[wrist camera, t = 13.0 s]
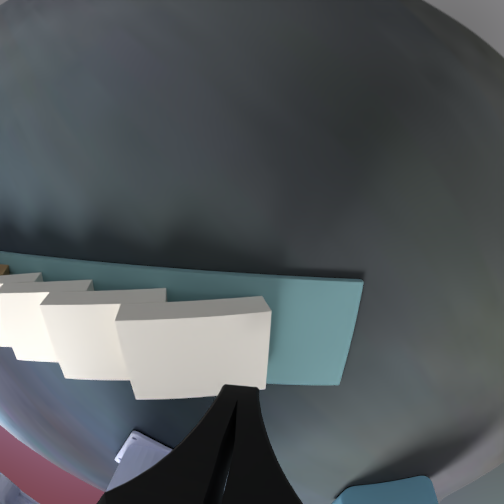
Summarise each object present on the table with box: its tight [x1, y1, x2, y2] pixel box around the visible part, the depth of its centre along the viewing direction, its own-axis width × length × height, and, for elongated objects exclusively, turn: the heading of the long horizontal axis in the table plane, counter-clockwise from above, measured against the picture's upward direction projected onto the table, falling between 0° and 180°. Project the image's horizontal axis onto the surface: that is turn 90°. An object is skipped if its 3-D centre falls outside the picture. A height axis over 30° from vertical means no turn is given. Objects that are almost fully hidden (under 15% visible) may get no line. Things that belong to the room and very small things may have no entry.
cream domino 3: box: [40, 288, 167, 380], centre depth 14 cm, size 2×5×7 cm
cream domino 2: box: [0, 279, 94, 362], centre depth 14 cm, size 2×5×7 cm
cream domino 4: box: [115, 296, 272, 400], centre depth 13 cm, size 2×5×7 cm
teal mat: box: [0, 251, 364, 385], centre depth 16 cm, size 28×7×1 cm, turn 88°
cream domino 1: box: [0, 272, 43, 347], centre depth 14 cm, size 2×5×7 cm
